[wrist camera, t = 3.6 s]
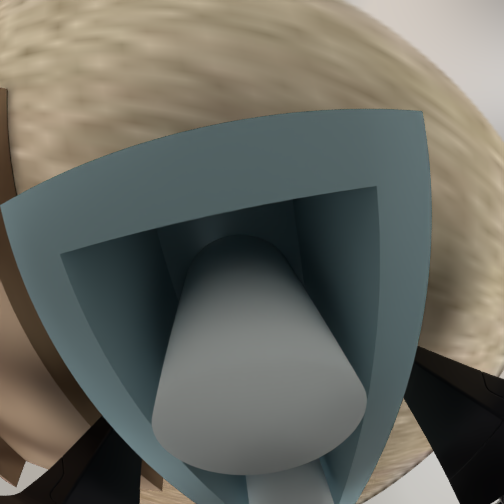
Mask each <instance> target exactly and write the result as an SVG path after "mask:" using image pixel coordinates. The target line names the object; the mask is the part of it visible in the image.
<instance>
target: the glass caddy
mask: <svg viewBox="0 0 504 504" xmlns="http://www.w3.org/2000/svg"><path fill="white" fill-rule="evenodd" d="M0 207H1V212H2V216H3V220H4V224H5V228H6V231H7V235H8V238H9V242H10V245H11V248H12V251H13V254H14V257H15V260H16V263H17V266H18V269H19V271H20V274H21V277H22V279H23V282H24V284H25V287H26V289H27V291H28V294H29V296H30V298H31V301H32V303H33V305H34V307H35V309H36V311H37V314H38V316H39V318H40V320H41V322H42V324H43V326H44V328H45V329H46V331H47V333H48V335H49V337H50V339H51V341H52V342H53V344H54V346H55V348H56V349H57V351H58V353H59V354H60V356H61V358H62V359H63V361H64V363H65V364H66V366H67V367H68V369H69V370H70V372H71V373H72V375H73V376H74V378H75V379H76V381H77V382H78V384H79V385H80V387H81V388H82V389H83V391H84V392H85V394H86V395H87V396H88V398H89V399H90V400H91V402H92V403H93V404H94V405H95V407H96V408H97V409H98V411H99V412H100V413H101V414H102V415H103V417H104V418H105V419H106V420H107V422H108V423H109V424H110V425H111V426H112V427H113V428H114V430H115V431H116V432H117V433H118V434H119V435H120V436H121V437H122V438H123V440H124V441H125V442H126V443H127V444H128V445H129V446H130V447H131V448H132V449H133V450H134V451H135V452H136V453H137V454H138V455H139V456H140V457H141V458H142V459H143V460H144V461H145V462H146V463H147V464H148V465H149V466H151V467H152V468H153V469H154V470H155V471H156V472H157V473H158V474H159V475H161V476H162V477H163V478H164V479H165V480H166V481H168V482H169V483H170V484H171V485H173V486H174V487H175V488H176V489H177V490H179V491H180V492H181V493H183V494H184V495H185V496H187V497H188V498H189V499H191V500H192V501H193V502H195V503H196V504H355V503H356V502H357V500H358V498H359V496H360V495H361V493H362V491H363V489H364V488H365V486H366V484H367V482H368V480H369V478H370V476H371V474H372V472H373V471H374V468H375V466H376V464H377V462H378V460H379V458H380V456H381V454H382V452H383V449H384V447H385V445H386V442H387V440H388V438H389V435H390V433H391V430H392V428H393V425H394V422H395V420H396V417H397V414H398V412H399V409H400V406H401V403H402V400H403V397H404V394H405V390H406V387H407V384H408V380H409V377H410V373H411V370H412V366H413V362H414V358H415V354H416V349H417V345H418V340H419V336H420V331H421V325H422V320H423V314H424V308H425V301H426V294H427V286H428V277H429V266H430V253H431V230H432V201H431V178H430V165H429V154H428V145H427V138H426V131H425V124H424V118H423V112H422V111H413V110H395V109H338V110H320V111H306V112H295V113H286V114H277V115H269V116H262V117H255V118H249V119H243V120H237V121H231V122H226V123H221V124H216V125H211V126H206V127H202V128H197V129H193V130H189V131H185V132H181V133H177V134H173V135H169V136H165V137H162V138H158V139H155V140H151V141H148V142H145V143H141V144H138V145H135V146H132V147H129V148H126V149H123V150H120V151H117V152H114V153H111V154H109V155H106V156H103V157H100V158H98V159H95V160H93V161H90V162H87V163H85V164H83V165H80V166H78V167H75V168H73V169H71V170H68V171H66V172H64V173H62V174H59V175H57V176H55V177H53V178H51V179H49V180H46V181H44V182H42V183H40V184H38V185H36V186H34V187H32V188H30V189H28V190H27V191H25V192H23V193H21V194H19V195H17V196H15V197H14V198H12V199H10V200H8V201H7V202H5V203H3V204H1V205H0Z"/></svg>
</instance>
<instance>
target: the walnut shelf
mask: <svg viewBox="0 0 504 504" xmlns="http://www.w3.org/2000/svg"><path fill="white" fill-rule="evenodd" d="M15 196H16V191H15V186H14V180H13V174H12V167H11V160H10V152H9V142H8V128H7V89H4V88H0V205H1V204H3V203H5V202H7V201H8V200H10V199H12V198H14V197H15ZM101 416H102V414H101V413H100V412H99V411H98V409H97V408H96V407H95V405H94V404H93V403H92V402H91V400H90V399H89V398H88V396H87V395H86V394H85V392H84V391H83V389H82V388H81V387H80V385H79V384H78V382H77V381H76V379H75V378H74V376H73V375H72V373H71V372H70V370H69V369H68V367H67V366H66V364H65V363H64V361H63V359H62V358H61V356H60V354H59V353H58V351H57V349H56V348H55V346H54V344H53V342H52V341H51V339H50V337H49V335H48V333H47V331H46V329H45V328H44V326H43V324H42V322H41V320H40V318H39V316H38V314H37V311H36V309H35V307H34V305H33V303H32V301H31V298H30V296H29V294H28V291H27V289H26V287H25V284H24V282H23V279H22V277H21V274H20V271H19V269H18V266H17V263H16V260H15V257H14V254H13V251H12V248H11V245H10V242H9V238H8V235H7V231H6V228H5V224H4V220H3V216H2V212H1V207H0V477H1V478H2V479H4V480H5V481H6V482H8V483H10V484H12V485H13V486H15V487H17V484H18V481H19V478H20V475H21V472H22V470H23V467H24V464H25V462H26V461H27V462H30V463H32V464H35V465H38V466H41V467H43V468H46V469H50V468H51V467H52V466H53V465H54V464H55V463H56V462H57V461H58V460H59V459H60V458H61V457H63V455H64V454H65V453H66V452H67V451H68V450H69V449H70V448H71V447H72V446H73V445H74V444H75V443H76V442H77V441H78V440H79V439H80V438H81V437H82V435H83V434H84V433H85V432H86V431H87V430H88V429H89V428H90V427H91V426H92V425H93V424H94V423H95V422H96V421H97V420H98V419H99V418H100V417H101ZM162 486H163V477H162V476H161V475H159V474H158V473H157V472H156V471H155V470H154V469H153V468H152V467H151V466H149V465H148V464H147V463H146V462H145V461H144V460H143V459H142V468H141V482H140V489H141V490H152V491H162Z"/></svg>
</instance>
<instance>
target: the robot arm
mask: <svg viewBox="0 0 504 504" xmlns="http://www.w3.org/2000/svg"><path fill="white" fill-rule="evenodd" d="M403 398H404V399H405V401H406V403H407V405H408V407H409V408H410V410H411V412H412V413H413V415H414V417H415V419H416V420H417V422H418V424H419V426H420V427H421V429H422V431H423V433H424V434H425V436H426V438H427V440H428V442H429V444H430V445H431V447H432V449H433V451H434V453H435V455H436V457H437V458H438V460H439V462H440V464H441V466H442V468H443V470H444V472H445V474H446V476H447V478H448V480H449V482H450V484H451V486H452V488H453V490H454V492H455V494H456V497H457V499H458V501H459V503H460V504H491V503H492V502H494V501H496V500H497V499H500V500H499V501H498V502H497V503H496V504H504V379H502V378H499V377H496V376H493V375H490V374H488V373H485V372H481V371H480V370H477V369H474V368H472V367H469V366H467V365H464V364H462V363H459V362H457V361H454V360H452V359H449V358H447V357H444V356H442V355H439V354H437V353H434V352H432V351H429V350H427V349H424V348H422V347H419V346H417V349H416V354H415V358H414V362H413V366H412V370H411V373H410V377H409V380H408V384H407V387H406V390H405V394H404V397H403ZM141 468H142V458H141V457H140V456H139V455H138V454H137V453H136V452H135V451H134V450H133V449H132V448H131V447H130V446H129V445H128V444H127V443H126V442H125V441H124V440H123V438H122V437H121V436H120V435H119V434H118V433H117V432H116V431H115V430H114V428H113V427H112V426H111V425H110V424H109V423H108V422H107V420H106V419H105V418H104V417H103V415H102V416H101V417H100V418H99V419H98V420H97V421H96V422H95V423H94V424H93V425H92V426H91V427H90V428H89V429H88V430H87V431H86V432H85V433H84V434H83V435H82V437H81V438H80V439H79V440H78V441H77V442H76V443H75V444H74V445H73V446H72V447H71V448H70V449H69V450H68V451H67V452H66V453H65V454H64V455H63V457H61V458H60V459H59V460H58V461H57V462H56V463H55V464H54V465H53V466H52V467H51V468H50V469H49V470H48V471H47V472H46V473H44V474H43V475H42V476H41V477H39V478H38V479H37V480H36V481H34V482H33V483H32V484H31V485H29V486H28V487H27V488H26V489H24V490H23V491H22V492H20V493H18V494H15V495H10V496H0V504H140V482H141Z"/></svg>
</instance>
